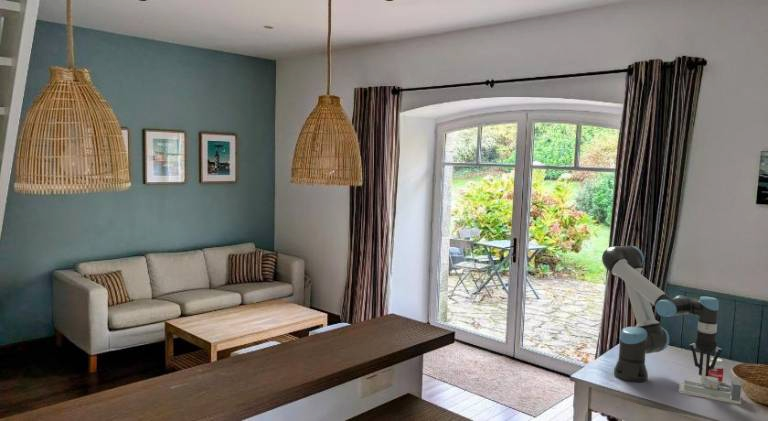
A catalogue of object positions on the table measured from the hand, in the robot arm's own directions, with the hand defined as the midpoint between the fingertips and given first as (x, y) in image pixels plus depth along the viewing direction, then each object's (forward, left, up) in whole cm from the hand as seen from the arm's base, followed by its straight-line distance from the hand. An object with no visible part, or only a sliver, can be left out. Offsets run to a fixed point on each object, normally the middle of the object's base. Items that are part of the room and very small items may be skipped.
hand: (702, 382), depth 258 cm
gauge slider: (+4, -1, -4) cm, 5 cm away
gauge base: (+3, 0, -5) cm, 6 cm away
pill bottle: (+6, +20, -5) cm, 22 cm away
